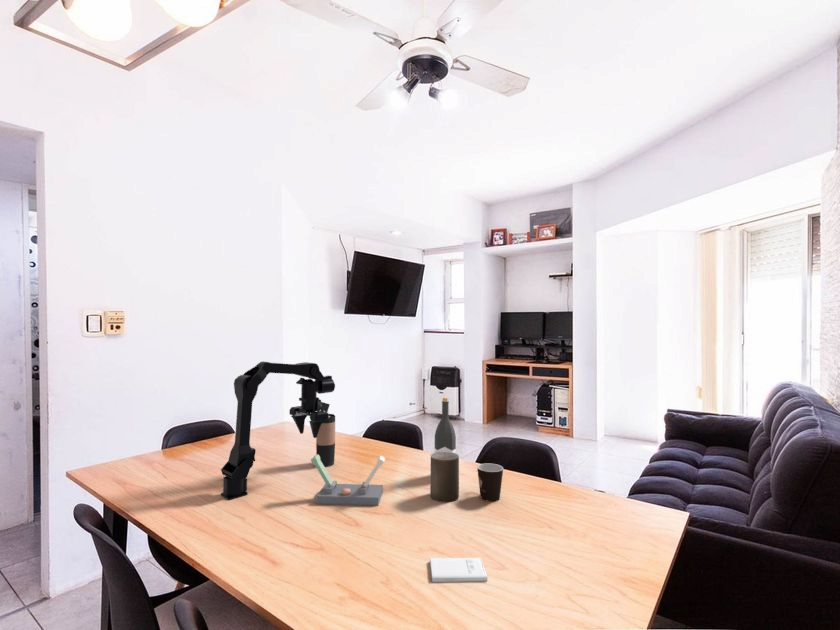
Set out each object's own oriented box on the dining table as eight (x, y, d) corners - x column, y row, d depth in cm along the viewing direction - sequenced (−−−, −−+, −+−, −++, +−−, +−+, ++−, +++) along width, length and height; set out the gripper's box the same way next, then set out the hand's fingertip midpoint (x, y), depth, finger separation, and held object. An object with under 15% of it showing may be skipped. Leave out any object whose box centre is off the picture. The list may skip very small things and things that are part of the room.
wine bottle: (455, 473, 165) (456, 396, 166) (455, 480, 157) (455, 399, 158) (435, 472, 166) (435, 395, 167) (433, 479, 158) (434, 399, 159)
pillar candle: (457, 503, 137) (457, 456, 137) (427, 500, 139) (428, 454, 139) (460, 492, 146) (460, 448, 147) (432, 489, 148) (433, 446, 149)
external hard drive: (429, 564, 103) (480, 563, 103) (432, 584, 95) (487, 583, 95) (429, 557, 103) (480, 556, 103) (432, 577, 95) (487, 576, 95)
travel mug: (311, 465, 174) (312, 416, 174) (324, 460, 180) (325, 412, 181) (326, 468, 170) (327, 418, 171) (338, 463, 177) (339, 414, 178)
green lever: (328, 492, 139) (309, 460, 139) (332, 487, 143) (313, 456, 144) (334, 489, 139) (315, 457, 139) (337, 484, 143) (318, 453, 144)
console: (316, 503, 136) (316, 490, 136) (325, 490, 147) (325, 478, 147) (378, 505, 135) (378, 492, 135) (382, 492, 146) (382, 479, 146)
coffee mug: (503, 504, 137) (503, 472, 137) (476, 501, 139) (476, 470, 139) (503, 490, 148) (503, 461, 149) (478, 488, 150) (478, 460, 150)
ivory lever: (358, 490, 138) (378, 458, 139) (361, 485, 143) (380, 454, 143) (364, 493, 138) (384, 462, 138) (366, 488, 143) (385, 458, 143)
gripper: (340, 395, 164) (339, 436, 163) (313, 390, 176) (312, 428, 176) (315, 398, 156) (315, 441, 155) (289, 393, 168) (288, 432, 168)
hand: (308, 435), depth 164 cm, fingers open, 9 cm apart
